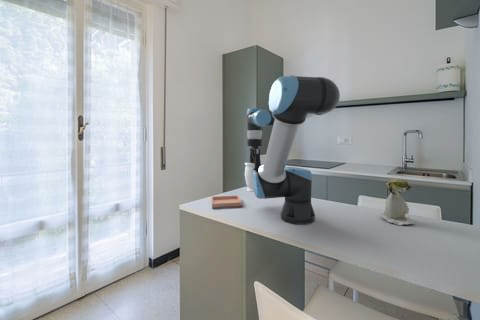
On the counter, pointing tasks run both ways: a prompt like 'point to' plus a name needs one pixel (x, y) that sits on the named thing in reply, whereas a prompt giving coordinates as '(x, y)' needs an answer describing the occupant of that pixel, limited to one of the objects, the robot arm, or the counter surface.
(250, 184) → the jar
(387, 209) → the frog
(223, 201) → the tray
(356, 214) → the counter surface
